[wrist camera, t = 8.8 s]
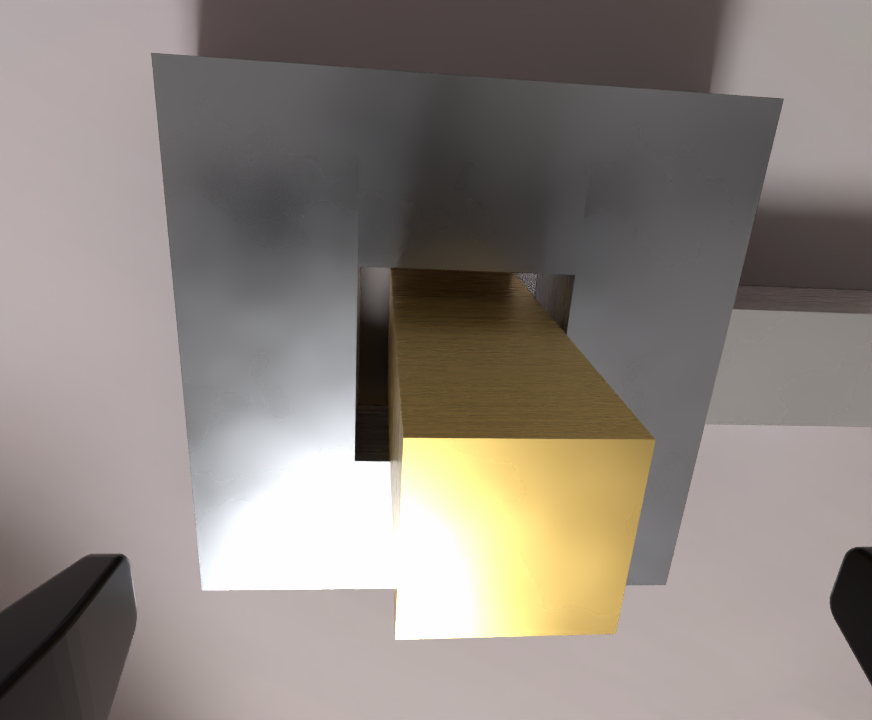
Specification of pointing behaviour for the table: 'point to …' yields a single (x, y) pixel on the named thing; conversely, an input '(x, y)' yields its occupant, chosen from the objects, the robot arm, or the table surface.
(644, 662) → the table surface
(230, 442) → the bracket
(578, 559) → the gold square pillar
